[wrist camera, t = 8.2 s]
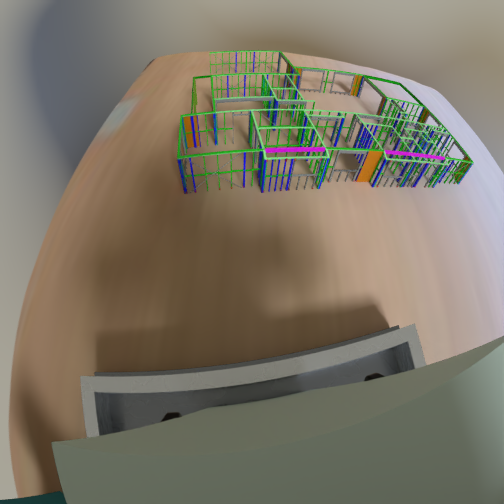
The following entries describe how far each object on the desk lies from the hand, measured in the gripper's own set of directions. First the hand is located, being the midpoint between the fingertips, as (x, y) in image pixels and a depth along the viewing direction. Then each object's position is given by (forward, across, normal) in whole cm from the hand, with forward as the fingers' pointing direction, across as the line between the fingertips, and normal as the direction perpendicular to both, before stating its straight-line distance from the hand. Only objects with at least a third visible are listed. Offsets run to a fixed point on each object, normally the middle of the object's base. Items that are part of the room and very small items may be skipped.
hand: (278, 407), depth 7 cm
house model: (+30, -14, -15) cm, 36 cm away
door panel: (+4, 0, +6) cm, 8 cm away
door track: (+6, 0, +8) cm, 10 cm away
